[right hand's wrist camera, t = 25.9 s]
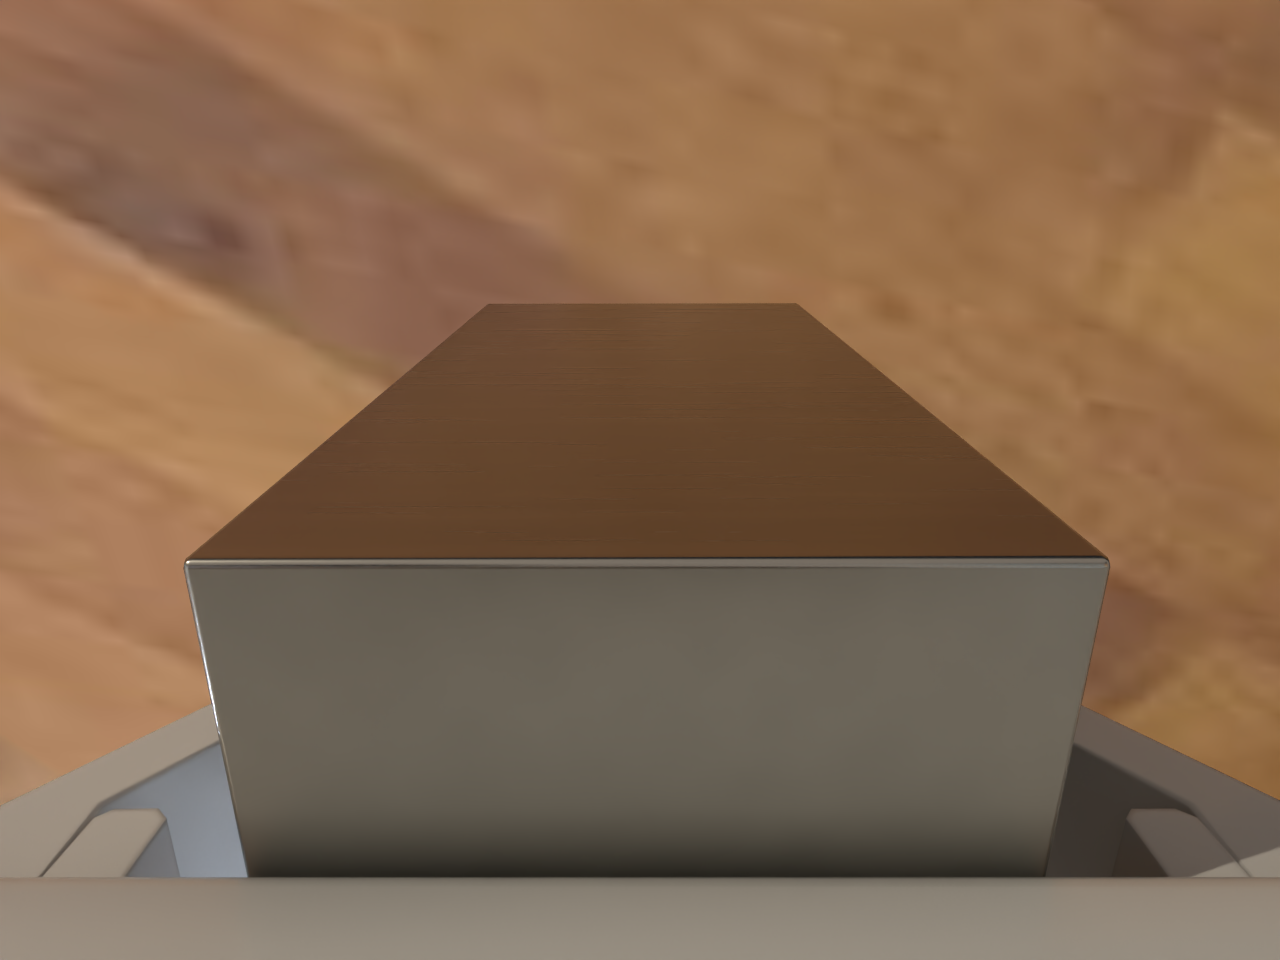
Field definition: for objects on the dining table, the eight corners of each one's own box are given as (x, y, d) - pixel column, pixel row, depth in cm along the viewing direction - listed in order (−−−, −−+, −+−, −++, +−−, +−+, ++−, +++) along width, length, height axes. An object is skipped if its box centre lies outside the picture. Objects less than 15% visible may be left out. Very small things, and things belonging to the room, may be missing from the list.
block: (798, 303, 14) (1116, 559, 5) (772, 718, 16) (939, 1400, 7) (486, 303, 14) (176, 559, 5) (513, 719, 16) (352, 1401, 7)
